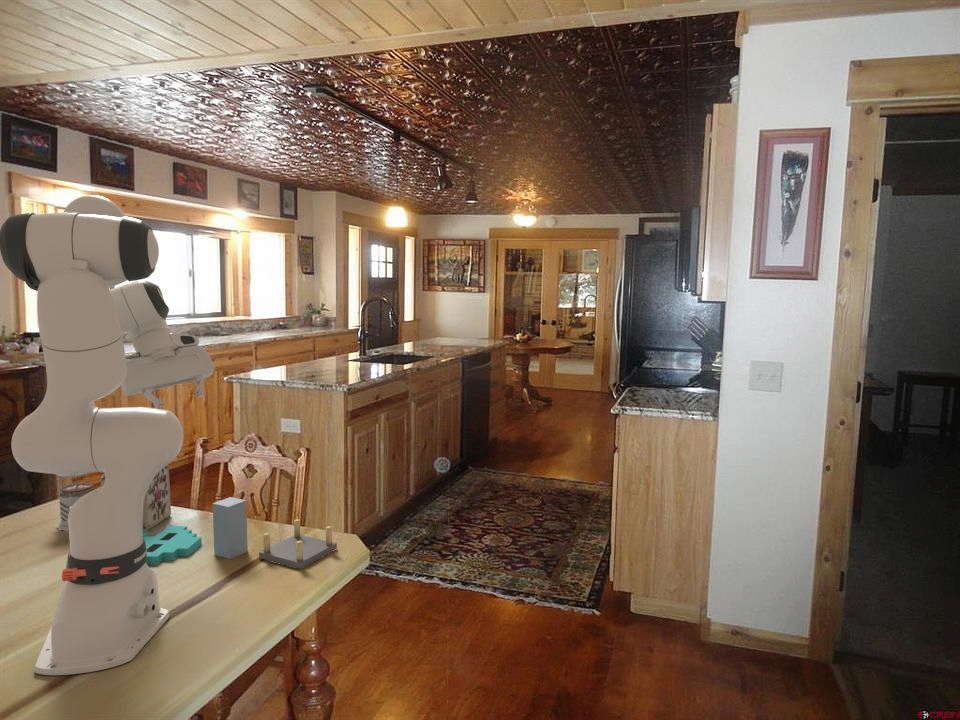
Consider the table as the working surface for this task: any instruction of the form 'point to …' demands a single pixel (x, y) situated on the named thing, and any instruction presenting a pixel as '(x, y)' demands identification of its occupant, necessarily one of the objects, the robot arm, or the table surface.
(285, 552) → the grey peg base
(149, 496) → the decorative jar
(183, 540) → the alien figure
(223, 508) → the slate block
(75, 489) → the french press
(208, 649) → the table surface
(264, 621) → the table surface
